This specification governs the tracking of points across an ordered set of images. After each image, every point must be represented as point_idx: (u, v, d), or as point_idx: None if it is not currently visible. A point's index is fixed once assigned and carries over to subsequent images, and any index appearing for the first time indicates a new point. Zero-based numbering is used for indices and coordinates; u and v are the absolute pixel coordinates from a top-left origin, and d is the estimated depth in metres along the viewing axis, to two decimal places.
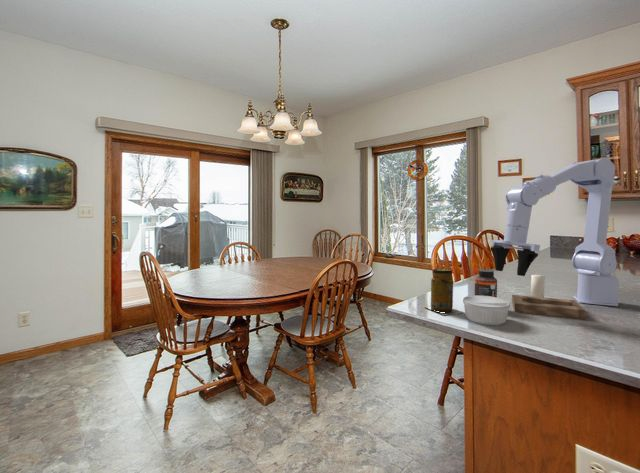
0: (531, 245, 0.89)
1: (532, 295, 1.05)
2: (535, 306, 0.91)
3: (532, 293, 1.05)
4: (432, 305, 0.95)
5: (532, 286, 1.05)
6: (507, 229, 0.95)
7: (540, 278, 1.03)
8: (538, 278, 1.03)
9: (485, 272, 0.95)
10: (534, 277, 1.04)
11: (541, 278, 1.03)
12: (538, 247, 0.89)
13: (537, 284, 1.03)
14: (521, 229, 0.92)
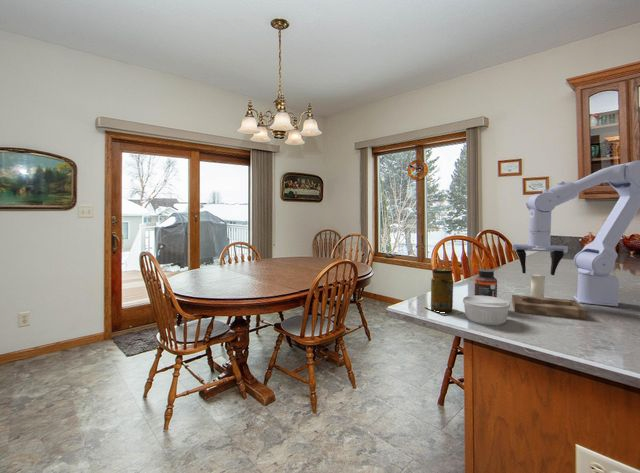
0: (564, 247, 1.00)
1: (532, 295, 1.05)
2: (535, 306, 0.91)
3: (532, 293, 1.05)
4: (432, 305, 0.95)
5: (532, 286, 1.05)
6: (538, 235, 1.01)
7: (540, 278, 1.03)
8: (538, 278, 1.03)
9: (485, 272, 0.95)
10: (534, 277, 1.04)
11: (541, 278, 1.03)
12: None
13: (537, 284, 1.03)
14: (550, 233, 1.01)
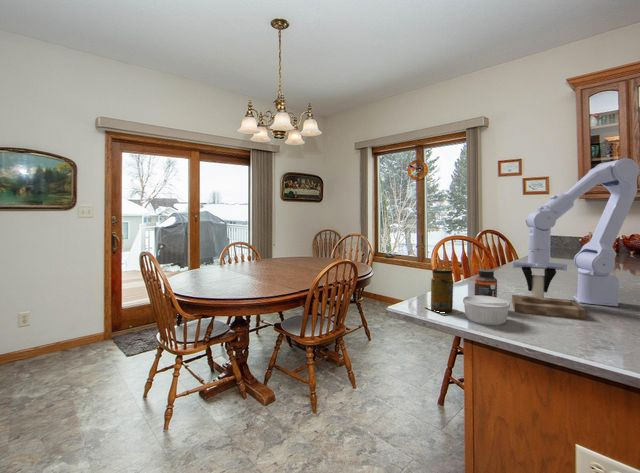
0: (563, 265, 1.00)
1: (532, 295, 1.05)
2: (535, 306, 0.91)
3: (532, 293, 1.05)
4: (432, 305, 0.95)
5: (532, 286, 1.05)
6: (538, 253, 1.02)
7: (540, 278, 1.03)
8: (538, 278, 1.03)
9: (485, 272, 0.95)
10: (534, 277, 1.04)
11: (541, 278, 1.03)
12: None
13: (537, 284, 1.03)
14: (549, 251, 1.02)
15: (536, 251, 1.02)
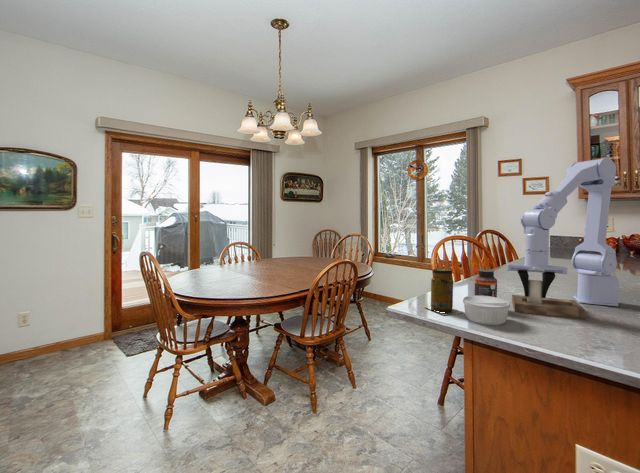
0: (563, 269, 0.91)
1: (529, 302, 0.96)
2: (535, 306, 0.91)
3: (529, 299, 0.96)
4: (432, 305, 0.95)
5: (529, 292, 0.96)
6: (535, 255, 0.92)
7: (538, 283, 0.94)
8: (535, 283, 0.94)
9: (485, 272, 0.95)
10: (531, 282, 0.95)
11: (538, 283, 0.94)
12: None
13: (534, 290, 0.94)
14: (547, 253, 0.92)
15: (533, 253, 0.93)
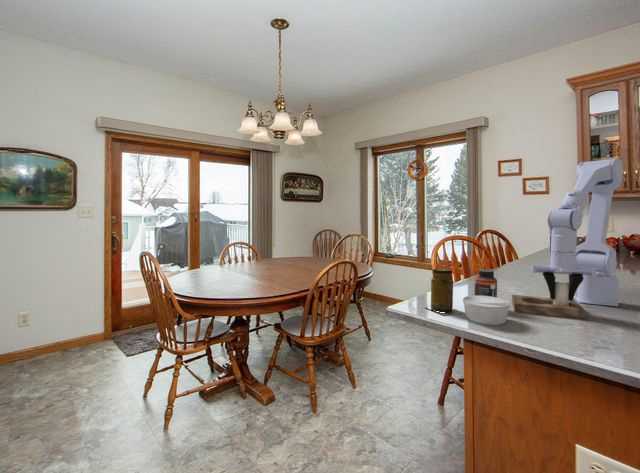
0: (592, 270, 0.88)
1: (555, 304, 0.93)
2: (535, 306, 0.91)
3: (555, 302, 0.93)
4: (432, 305, 0.95)
5: (555, 294, 0.93)
6: (562, 256, 0.90)
7: (565, 286, 0.91)
8: (562, 285, 0.91)
9: (485, 272, 0.95)
10: (557, 284, 0.92)
11: (565, 285, 0.91)
12: None
13: (561, 292, 0.91)
14: (575, 254, 0.90)
15: (560, 254, 0.90)
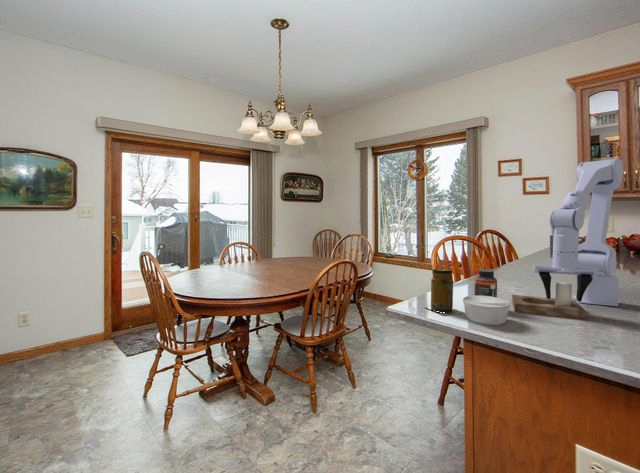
0: (594, 270, 0.88)
1: None
2: (535, 306, 0.91)
3: (557, 303, 0.93)
4: (432, 305, 0.95)
5: (557, 296, 0.93)
6: (564, 256, 0.89)
7: (567, 287, 0.91)
8: (564, 287, 0.91)
9: (485, 272, 0.95)
10: (559, 285, 0.92)
11: (567, 287, 0.91)
12: None
13: (563, 294, 0.91)
14: (577, 254, 0.89)
15: (563, 254, 0.90)
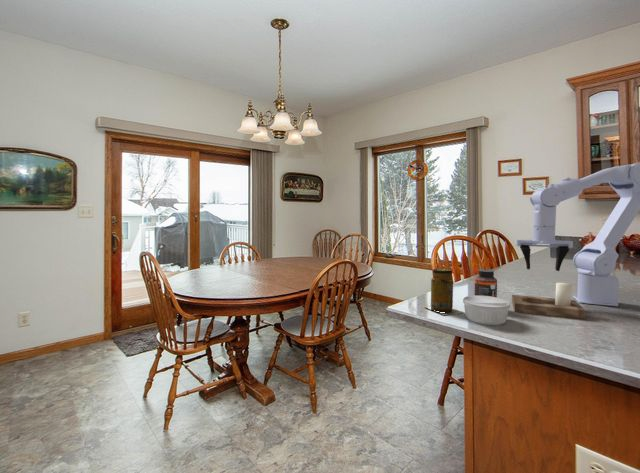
0: (569, 242, 0.99)
1: None
2: (535, 306, 0.91)
3: (557, 303, 0.93)
4: (432, 305, 0.95)
5: (557, 296, 0.93)
6: (543, 230, 1.00)
7: (567, 287, 0.91)
8: (564, 287, 0.91)
9: (485, 272, 0.95)
10: (559, 285, 0.92)
11: (567, 287, 0.91)
12: None
13: (563, 294, 0.91)
14: (554, 229, 1.00)
15: (541, 228, 1.00)
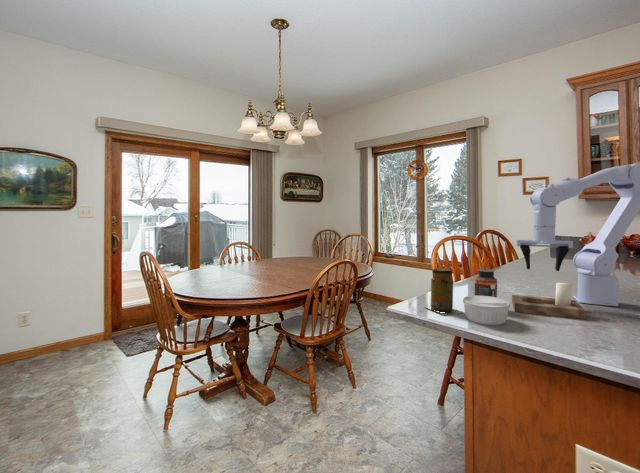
0: (569, 242, 0.99)
1: None
2: (535, 306, 0.91)
3: (557, 303, 0.93)
4: (432, 305, 0.95)
5: (557, 296, 0.93)
6: (543, 230, 1.00)
7: (567, 287, 0.91)
8: (564, 287, 0.91)
9: (485, 272, 0.95)
10: (559, 285, 0.92)
11: (567, 287, 0.91)
12: None
13: (563, 294, 0.91)
14: (554, 228, 1.00)
15: (541, 228, 1.00)
